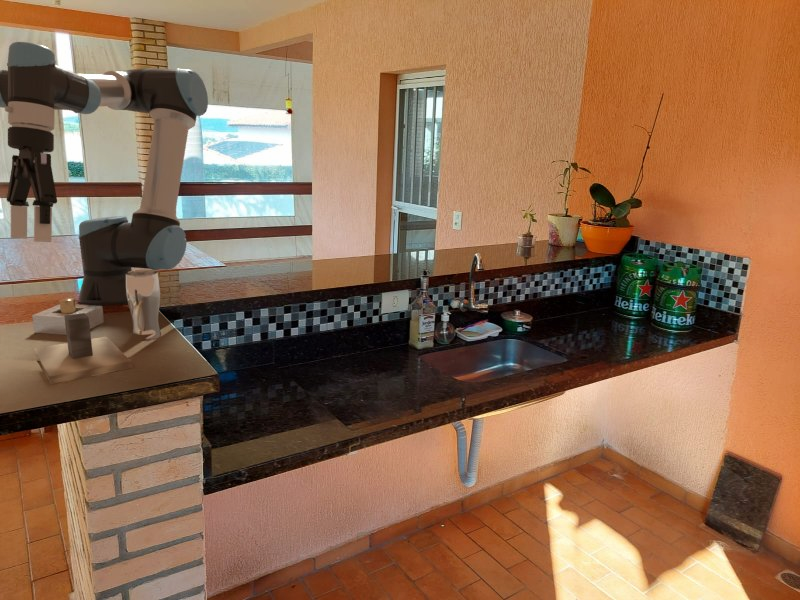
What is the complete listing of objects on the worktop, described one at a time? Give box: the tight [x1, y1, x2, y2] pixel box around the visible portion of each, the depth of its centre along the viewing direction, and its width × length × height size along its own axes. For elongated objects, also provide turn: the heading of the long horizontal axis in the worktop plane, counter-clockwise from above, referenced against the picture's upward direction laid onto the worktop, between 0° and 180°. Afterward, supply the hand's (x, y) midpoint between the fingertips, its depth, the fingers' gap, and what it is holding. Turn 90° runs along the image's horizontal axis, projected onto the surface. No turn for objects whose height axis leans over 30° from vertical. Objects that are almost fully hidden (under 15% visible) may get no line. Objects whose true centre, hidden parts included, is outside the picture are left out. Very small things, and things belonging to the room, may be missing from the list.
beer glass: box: [126, 269, 162, 342], centre depth 133 cm, size 7×7×15 cm
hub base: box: [32, 313, 132, 385], centre depth 117 cm, size 14×18×10 cm
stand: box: [58, 297, 76, 314], centre depth 134 cm, size 7×7×8 cm
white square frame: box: [31, 303, 105, 336], centre depth 134 cm, size 10×10×4 cm
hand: (30, 240), depth 115 cm, fingers open, 13 cm apart
